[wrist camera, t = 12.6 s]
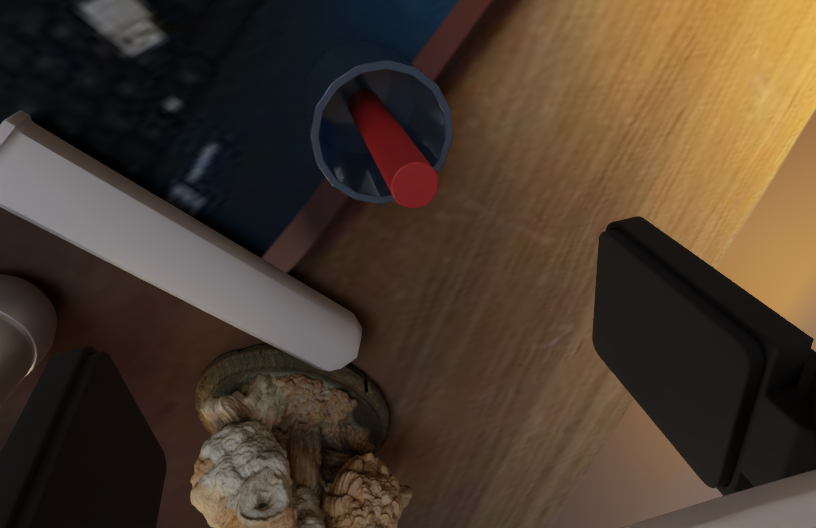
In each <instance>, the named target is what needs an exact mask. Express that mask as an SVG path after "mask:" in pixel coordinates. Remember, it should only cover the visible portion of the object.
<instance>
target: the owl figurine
mask: <svg viewBox="0 0 816 528" xmlns="http://www.w3.org/2000/svg"><path fill="white" fill-rule="evenodd" d="M365 378H366V377H365V375H364V374H363V373H361V371H359V370H358V369H357V368H355V367H354V366H352V365H350V364H347V365H345V366H344V367H343V368H341V369H337V370H333V371H325V370H321V369H317V368H315V367H313V366H311V365H309V364H307V363H305V362H303V361H301V360H299V359H297V358H295V357H293V356H291V355H289V354H288V353H286V352H284V351H282V350H280V349H278V348H276V347H274V346H272V345H270V344H267V345H254V346H252V347H249V348H244V350H243V351H239V352H237V350H233V351H231V352H227V353H226V354H223V355H221V356H219V357H218V358H217V359H215V360H214V361H213V362H212V363H211V364H210V365H209V366H208V367H207V368H206V369H204V371H203V373H202V375H201V376H200V378H198V379H199V380H198V382H197V385H196V388H195V406H196V410H197V414H198V416H199V418H200V420H201V422H202V423H203V425H204V426H205V427H206V429H207V430H208V431H209V432H210V433H211V434H212V436H211V437H210V438H209V439H207V440H206V441H205V442H204V444H203V446H202V448H201V453H200V455H199V458H198V459H197V461H196V463H195V465H194V467H195V471H194V474H193V476H192V478H191V480H190V481H191V484H192V486H193V489H192V491H191V496H190V498H191V503H192V504H193V505H194V506H195V507H196V509H197V510H199V511H200V512H201V513H203V514H204V516H205V518H206V519H207V523H208V524H209V525H210V526H211V527H214V528H398V520H399V519H400V517H401V513H402V510H403V509H402V508H405V507H407V505H408V503H409V500H411V498H412V492H413V491H412V489H411V488H410V487H409V486H408V485H407V486H406V485H405V486H402V485H400V484H399V481H398V479H397V477H395V476H394V475H392V474H391V472H390V471H389V468H388V466H387V465H386V464H385V462H384V461H383V460H382V459H380V458H378V457H376V458H375V457H374V455H373V454H374V453H376V452H377V451H378V450H379V449H380V448H381V447H382V445H383V444H384V442H385V441H386V439H387V437H388V433H389V426H390V422H389V412H388V408H387V404H386V403H387V402H385V399H384V397H383V395H382V394H381V392H380V390H379V389H377V387H376V386H375V383H373V381H371V379H370V380H368V382H367V383H368V392H367V393H366V392H365V387H364V381H365ZM351 455H353V456H351ZM354 455H355V456H354Z"/></svg>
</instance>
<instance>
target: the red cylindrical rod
mask: <svg viewBox="0 0 816 528" xmlns="http://www.w3.org/2000/svg"><path fill="white" fill-rule="evenodd" d="M348 109H349V112H350V114H351V116H352V118H353V120H354V122H355V124H356V126H357V128H358V130H359V132H360V134H361V135H362V137H363V139H364V141H365V143H366V145H367V147H368V149H369V151H370V153H371V155H372V157H373V159H374V161H375V163H376V165H377V167H378V169H379V170H380V172H381V174H382V176H383V178H384V180H385V182H386V184H387V186H388V188H389V190H390V192H391V194H392V196H393V198H394V199H395V201H396V202H397V203H399V204H400V205H402V206H404V207H407V208H419V207H422V206H424V205H426V204H428V203H429V202H430V201H431V200H432V199H433V198H434V196H435V195H436V193H437V190H438V187H439V179H438V175H437V173H436V171H435V170H434V168H433V167H432V166H431V165H430V163H429V162H428V161H427V159H426V158H425V157H424V156H423V154H422V153H421V152H420V150H419V149H418V148H417V147H416V145H415V144H414V143H413V141H412V140H411V139H410V138H409V136H408V135H407V134H406V132H405V131H404V130H403V128H402V127H401V126H400V125H399V123H398V122H397V121H396V119H395V118H394V117H393V116H392V114H391V113H390V112H389V110H388V109H387V108H386V107H385V105H384V104H383V103H382V101H381V100H380V99H379V98H378V96H377V95H376V94H375V93H374V92H373V91H371V90H368V89H360V90H357V91H356V92H354V93H353V94H352V95H351V97H350V99H349V102H348Z"/></svg>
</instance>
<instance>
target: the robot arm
mask: <svg viewBox="0 0 816 528" xmlns="http://www.w3.org/2000/svg"><path fill="white" fill-rule="evenodd" d="M592 339H593V344H594V347H595V350H596V352H597V353H598V355H599V356H600V357H601V359H602V360H603V361H604V362H605V364H606V365H607V366H608V367H609V368H610V370H611V371H612V372H613V373H614V374H615V376H616V377H617V378H618V379H619V381H620V382H621V383H622V384H623V385H624V387H625V388H626V389H627V390H628V391H629V393H630V394H631V395H632V396H633V398H634V399H635V400H636V401H637V402H638V403H639V404H640V406H641V407H642V408H643V410H644V411H645V412H646V413H647V414H648V416H649V417H650V418H651V419H652V421H653V422H654V423H655V424H656V425H657V427H658V428H659V429H660V430H661V431H662V433H663V434H664V435H665V436H666V438H667V439H668V440H669V441H670V442H671V444H672V445H673V446H674V447H675V448H676V450H677V451H678V452H679V453H680V455H681V456H682V457H683V458H684V459H685V461H686V462H687V463H688V464H689V465H690V467H691V468H692V469H693V470H694V472H695V473H696V474H697V475H698V476H699V478H700V479H701V480H702V481H703V482H704V483H705V484H706V485H707V486H709V487H711V488H717V489H718V490H719V491H720V492H721V494H722V495H723V496H722V497H719V498H715V499H712V500H709V501H706V502H703V503H700V504H696V505H693V506H690V507H687V508H684V509H680V510H677V511H674V512H670V513H667V514H664V515H661V516H657V517H654V518H651V519H648V520H644V521H641V522H638V523H635V524H632V525H629V526H625V527H622V528H816V352H815V351H814V350H812V349H811V346H812V343H813V340H814V339H813V338H811V337H810V336H808V335H807V334H805V333H804V332H803V331H801V330H800V329H798V328H797V327H796V326H794V325H793V324H792V323H790V322H789V321H787V320H786V319H784V318H783V317H781V316H780V315H779V314H778V313H776V312H775V311H773V310H772V309H770V308H769V307H768V306H766V305H765V304H763V303H762V302H760V301H759V300H758V299H756V298H755V297H754V296H752V295H751V294H749V293H748V292H747V291H745V290H744V289H742V288H741V287H739V286H738V285H737V284H735V283H734V282H732V281H731V280H730V279H728V278H727V277H725V276H724V275H723V274H721V273H720V272H718V271H717V270H716V269H714V268H713V267H711V266H710V265H709V264H707V263H706V262H704V261H703V260H701V259H700V258H699V257H697V256H696V255H694V254H693V253H692V252H690V251H689V250H687V249H686V248H685V247H683V246H682V245H680V244H679V243H678V242H676V241H675V240H673V239H672V238H671V237H669V236H668V235H666V234H665V233H663V232H662V231H661V230H659V229H658V228H656V227H655V226H654V225H652V224H651V223H649V222H648V221H647V220H645V219H644V218H642V217H640V216H639V217H632V218H628V219H624V220H620V221H615V222H611V223H610V224H608V226H607V228H606V231H605V232H602V233H601V235H600V237H599V246H598V261H597V276H596V290H595V305H594V320H593V334H592ZM165 475H166V459H165V455H164V452H163V450H162V448H161V446H160V445H159V443H158V441H157V439H156V437H155V436H154V434H153V432H152V430H151V429H150V427H149V425H148V423H147V421H146V420H145V418H144V416H143V414H142V413H141V411H140V409H139V407H138V405H137V404H136V402H135V400H134V398H133V396H132V395H131V393H130V391H129V389H128V388H127V386H126V384H125V382H124V380H123V379H122V377H121V375H120V373H119V372H118V370H117V368H116V366H115V364H114V363H113V361H112V359H111V357H110V356H109V355H108V354H107V353H106V352H99V353H98V352H97V351H96V350H95V349H94V348H93V347H89V346H88V347H84V348H80V349H76V350H71V351H67V352H63V353H59V354H55V355H53V356H52V357H51V358H50V360H49V361H48V363H47V365H46V367H45V369H44V371H43V373H42V375H41V377H40V379H39V381H38V383H37V385H36V387H35V388H34V390H33V392H32V394H31V396H30V398H29V400H28V402H27V404H26V406H25V408H24V410H23V412H22V414H21V415H20V417H19V419H18V421H17V423H16V425H15V427H14V429H13V431H12V433H11V435H10V437H9V439H8V441H7V442H6V444H5V446H4V448H3V450H2V452H1V454H0V528H156V523H157V518H158V513H159V507H160V502H161V496H162V491H163V486H164V480H165Z"/></svg>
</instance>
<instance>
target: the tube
mask: <svg viewBox="0 0 816 528" xmlns="http://www.w3.org/2000/svg"><path fill="white" fill-rule="evenodd" d="M0 207H1V208H3V209H5V210H7V211H9V212H11V213H13V214H15V215H17V216H19V217H21V218H23V219H25V220H27V221H28V222H30V223H32V224H34V225H36V226H38V227H40V228H42V229H44V230H46V231H48V232H50V233H52V234H54V235H56V236H58V237H60V238H62V239H64V240H66V241H68V242H70V243H72V244H74V245H76V246H78V247H80V248H81V249H83V250H85V251H87V252H89V253H91V254H93V255H95V256H97V257H99V258H101V259H103V260H105V261H107V262H109V263H111V264H113V265H115V266H117V267H119V268H121V269H123V270H125V271H127V272H129V273H131V274H132V275H134V276H136V277H138V278H140V279H142V280H144V281H146V282H148V283H150V284H152V285H154V286H156V287H158V288H160V289H162V290H164V291H166V292H168V293H170V294H172V295H174V296H176V297H178V298H180V299H182V300H184V301H185V302H187V303H189V304H191V305H193V306H195V307H197V308H199V309H201V310H203V311H205V312H207V313H209V314H211V315H213V316H215V317H217V318H219V319H221V320H223V321H225V322H227V323H229V324H231V325H233V326H235V327H236V328H238V329H240V330H242V331H244V332H246V333H248V334H250V335H252V336H254V337H256V338H258V339H260V340H262V341H264V342H266V343H268V344H270V345H272V346H274V347H276V348H278V349H280V350H282V351H284V352H286V353H288V354H289V355H291V356H293V357H295V358H297V359H299V360H301V361H303V362H305V363H307V364H309V365H311V366H313V367H315V368H317V369H321V370H325V371H333V370H337V369H341V368H343V367H344V366H345V365H347V364H348V363H350V362H351V361H353V360H354V359H356V358H357V355H358V350H359V346H360V342H361V336H362V327H361V325H360V324H359V322H358V320H357V319H356V317H355V315H354V314H353V313H352V312H351V311H349V310H347V309H345V308H344V307H342V306H340V305H339V304H337V303H335V302H334V301H332V300H330V299H329V298H327V297H325V296H324V295H322V294H320V293H319V292H317V291H315V290H314V289H312V288H310V287H309V286H307V285H305V284H304V283H302V282H300V281H298V280H297V279H295V278H293V277H292V276H290V275H288V274H287V273H285V272H283V271H282V270H280V269H278V268H277V267H275V266H273V265H272V264H270V263H268V262H267V261H265V260H263V259H262V258H260V257H258V256H257V255H255V254H253V253H252V252H250V251H248V250H246V249H245V248H243V247H241V246H240V245H238V244H236V243H235V242H233V241H231V240H230V239H228V238H226V237H225V236H223V235H221V234H220V233H218V232H216V231H215V230H213V229H211V228H210V227H208V226H206V225H205V224H203V223H201V222H199V221H198V220H196V219H194V218H193V217H191V216H189V215H188V214H186V213H184V212H183V211H181V210H179V209H178V208H176V207H174V206H173V205H171V204H169V203H168V202H166V201H164V200H163V199H161V198H159V197H158V196H156V195H154V194H152V193H151V192H149V191H147V190H146V189H144V188H142V187H141V186H139V185H137V184H136V183H134V182H132V181H131V180H129V179H127V178H126V177H124V176H122V175H121V174H119V173H117V172H116V171H114V170H112V169H111V168H109V167H107V166H105V165H104V164H102V163H100V162H99V161H97V160H95V159H94V158H92V157H90V156H89V155H87V154H85V153H84V152H82V151H80V150H79V149H77V148H75V147H74V146H72V145H70V144H69V143H67V142H65V141H64V140H62V139H60V138H59V137H57V136H55V135H53V134H52V133H50V132H48V131H47V130H45V129H43V128H42V127H40V126H38V125H37V124H36V123H34V122H33V121H32V120H31V116H30V115H28V114H27V113H25V112H24V111H22V110H19V111H18V112H16V113H15V114H13V115H12V116H10V117H8V118H7V119H5V120H4V121H3V122H2V123H1V125H0Z"/></svg>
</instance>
